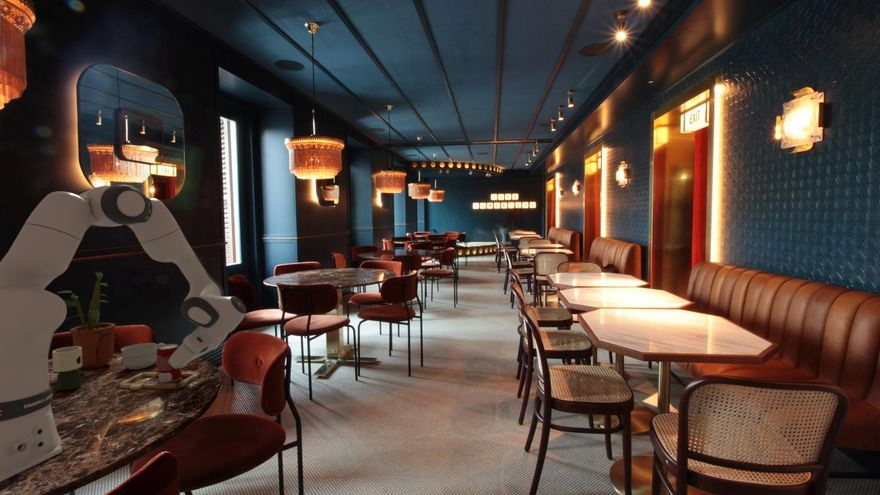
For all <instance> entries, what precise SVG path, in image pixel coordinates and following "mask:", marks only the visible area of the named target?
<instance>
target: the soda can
mask: <svg viewBox="0 0 880 495" xmlns="http://www.w3.org/2000/svg"><path fill="white" fill-rule="evenodd" d="M178 347H179V345H178V344H177V343H168V344H167V343H166V344H165V345H163V346H159V347H158V350H157V353H156V355H157V359H156V368H157V371H156V372H158V377H157V382H158V384H175V383H177V382H178V381H179V380H182V374H181V372H182V368H177V369H175V368H173V367H172V366H171V365H170V364H169V363H168V361H169V358H170V357H171V356H172V355H173V353H174V352H175V351H176V350H177V349H178Z"/></svg>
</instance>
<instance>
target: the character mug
mask: <svg viewBox="0 0 880 495" xmlns="http://www.w3.org/2000/svg"><path fill="white" fill-rule="evenodd" d="M51 355H52V370H53V372H58V373H57V378H56V388H55V390H56V391H66V390H67V391H71V390H75V389H77V388H80V387H81V386H83V385H82V379H81V374H80V370H79V368H82V367H81V366H82V348H81V347H79V346H67V347H66V346H65V347H61V348H57V349H55V350H52V352H51Z"/></svg>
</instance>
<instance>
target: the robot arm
mask: <svg viewBox="0 0 880 495" xmlns="http://www.w3.org/2000/svg"><path fill="white" fill-rule="evenodd" d="M123 225H125V226H127V227H129V229H131V230H132V231H133V233H134V234H135V237H136V238H137V240H138V242H139V243H140V245H141V247H142V249H143V250H144V251H145V253H146V254H147V255H148V256H149V257H150V258H151V259H152V260H154V261H155V262H160V263H173V264H175V265H177V267H178V268H179V270H180V271H181V273H182V275H183V276H184V277H185V279H186V280H187V281H188V283H189V293H188V294H187V296H186V297H185V299H184V300H183V302H182V304H181V306H180V313H181V315H182V317H183V318H184V319H185V320H186V321H188V322H190V323H192V324H194V325H197V326H198V327H197V328H196V329H195V330H194V331H193V332H191V333H190V334H188V335H187V336H185V337H184V339H183V340H182V343H181V345H178V349H177V350H176V351H175V352H174V353H173V355H172V356H171V357H170V358H169V361H168V363H169V364H170V365H171V366H172V367H173V368H175V369H177V368H181V369H182V368H184V367H186V366H187V365H188V364H189V363H190V362H192V361H193V360H196V359H198V358H199V357H201V356H203V355H205V354H206V353H208V352H210V351H214V350H216V349H217V348H218V346H220V345H221V344H222V342H223V341H224V340H226V338H227V336H228V334H229V333H232V332H233V331H234V330H235V329H236V328H237V327H238V325H239V324H241V322H242V321H243V319H244V318H245V316H246V313H247V309H246V308H247V307H246V306H245V304H244V302H243V301H242V300H241V299H240V298H238V297H237V296H233V295H231V296H224V294H225V293H224V289H223V286H222V285H221V283H219V281H218V280H217V279H215V278H214V277H212V276H211V275H210V274H209V273H208V271H207V269H206V268H205V266H204V265H203V263H202V262H201V260H200V258H199V257H198V255H197V253H196V252H195V251H194V250H193V248H192V246H190V244H189V242H188V240H187V239H186V237H185V235H184V233H183V231H182V230H181V228H180V226H179V224H178V222H177V221H176V219H175V217H174V216H173V214H172V213H171V211H170V210H169V209H168V208H167V206H166V205H165V204H164V203H163V202H162V201H161V200H160V199H158V198H154V197H147V196H146V195H145V193H144V192H143V191H141V190H140V189H138V188H136V187H134V186H132V185H128V184H114V185H102V186H101V185H100V186H97V187H94V188H89V189H85V190H83V191H79V193H77V194H76V193H72V192H69V191H61V190H60V191H54V192H50V193H48V194H47V195H46V196H45V197H44V198H42V200H41V201H40V202H39V203H38V204H37V206H36V207H35V208H34V210H33V211H32V212H31V213H30V215H29V217H28V218H27V219H26V220H25V223H24V224H23V226H22V227H21V229H20V230H19V233H18V235H17V236H16V238H15V240H14V241H13V243H12V245H11V246H10V248H9V250H8V252H7V253H5V255H4V257H3V258H2V259H1V260H0V483H2V482H3V481H5V480H7V479H10V478H11V477H14V476H15V475H17V474H19V473H22V472H24V471H26V470H28V469H29V468H32V467H34V466H36V465H38V464H40V463H42V462H45V461H47V460H49V459H50V458H52V457H54V456H56V455H59V454H60V453H62V452H63V447H62V439H61V437H60V435H59V432H58V430H57V426H56V422H55V417H54V414H53V410H52V404H51V403H52V402H53V396H54V395H53V392H52V391H53V390H52V386H51V385H50V381H49V379H50V378H49V351H50V349H51V348H50V347H51V344H52V340H53V337H54V334H55V332H56V330H57V329H59V327H60V326H61V325H63V323H64V321H66V316H67V315H68V313H67V312H68V309H67V307H66V304H65V302H64V300H63V298H62V297H60V296H59V295H57V294H56V293H53V292H52V291H48V290H46V287H47V286H49V285H50V283H52V282H53V281H54V279H56V278H57V277H59V276H61V275H62V274H64V273H65V272H66V271H67V269H68V268H69V266H70V263H71V262H72V259H73V257H74V256H75V254H76V252H77V250H78V247H79V246H80V244H81V242H82V240H83V238H84V235H85V234H86V231H88V229H90V228H91V227H92V228H101V227H108V228H109V227H110V228H113V227H120V226H123Z"/></svg>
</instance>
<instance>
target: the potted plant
mask: <svg viewBox="0 0 880 495" xmlns="http://www.w3.org/2000/svg"><path fill="white" fill-rule="evenodd" d="M95 275H96V282H95V285H94V291H93V296H92V297H91V300H90V301H88V303H89V304H90V305H89V310H88V314H87V321H86V319H85V315H84V313H83V311H82V308H81V305H80V302H79V300H78V298H79V296H77V295H76V294H74V293H73V291H72V290H62V291H59V292H57V294H61V293H67V294H69V293H70V294H71V295H70V298H71V300H72V301H71V300H69V299H64V300H63V301H64V302H65V304H66V308H67V307H75V306H76V309H77V312H78V315H76V317H78V316H79V318H80V322H81V325H79V326H74V327H73V328H71V329H69V331H70V334H71V335H72V345H73V346H79V347H81V348H82V366H81V367H80V368H82V369H86V370H94V369H95V370H96V369H98V368H103V367H105V366H106V365H107V364H109V363H110V362H111V360H112V359H113V357H114V352H115V333H114V330H115V329H116V323H112V322H100V305H101V303H102V302H103V303H108V301H106V300H101V299H100V297H101V296H105V297H107V295H105V294H103V293H102V294H101V286H105V287H108V285H107V284H108V282H107V283H105V282H104V283H103V282H102V283H101V280H102V278H103V272H95ZM73 317H75V316H70V317H67V318H66V320H69V319H72V318H73ZM73 346H72V347H73Z"/></svg>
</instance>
